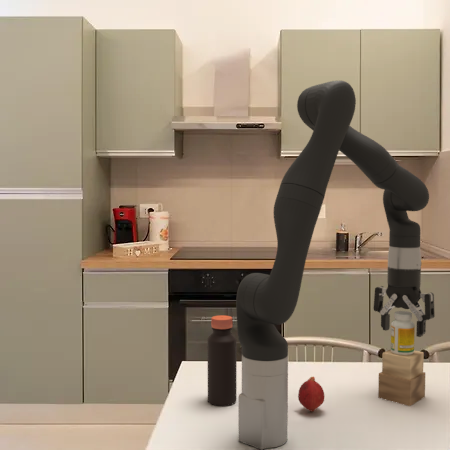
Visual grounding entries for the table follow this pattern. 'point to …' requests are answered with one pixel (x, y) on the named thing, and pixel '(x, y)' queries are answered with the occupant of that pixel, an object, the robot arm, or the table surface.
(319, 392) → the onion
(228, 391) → the vinegar
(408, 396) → the tower base
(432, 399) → the table surface
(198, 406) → the table surface
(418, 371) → the tower top
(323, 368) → the table surface
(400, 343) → the supplement bottle
